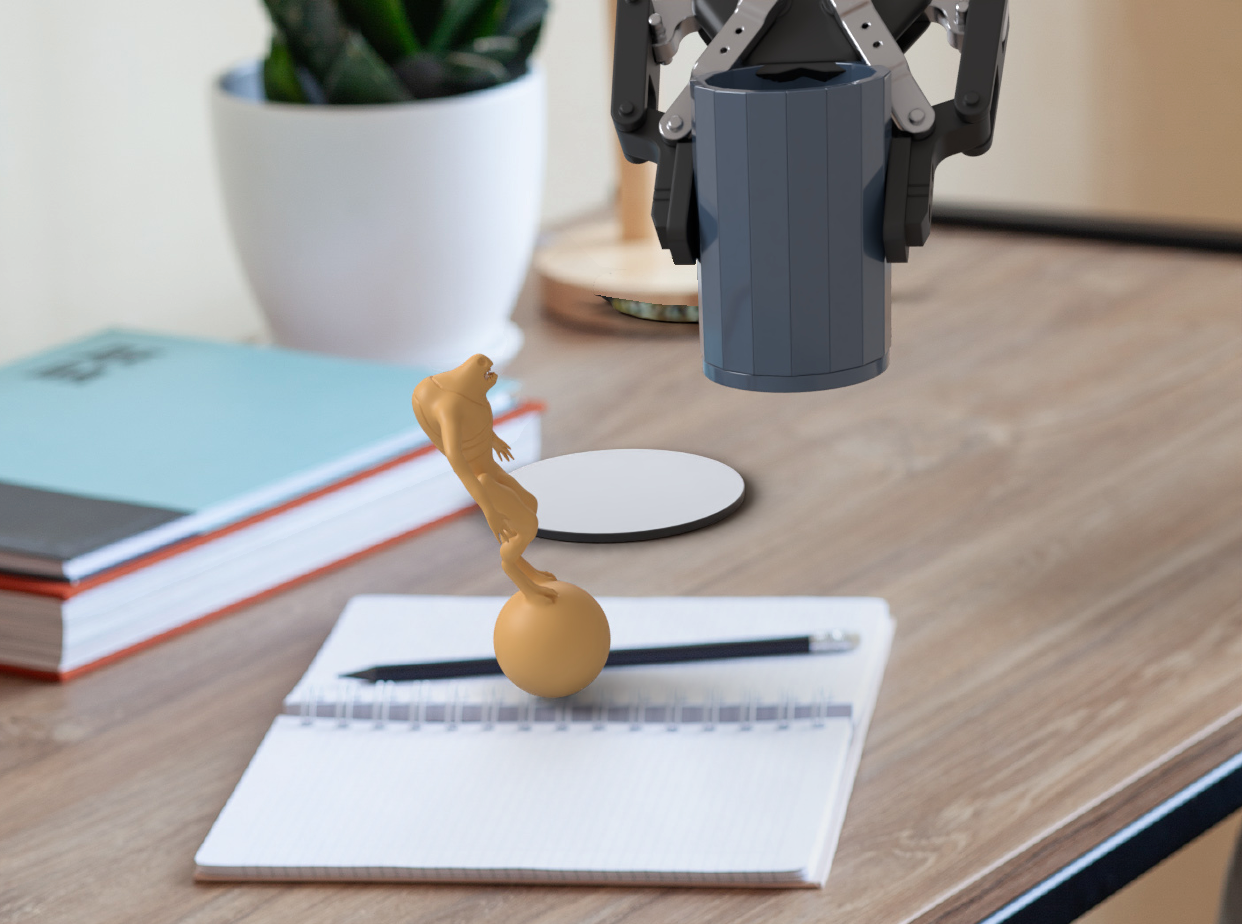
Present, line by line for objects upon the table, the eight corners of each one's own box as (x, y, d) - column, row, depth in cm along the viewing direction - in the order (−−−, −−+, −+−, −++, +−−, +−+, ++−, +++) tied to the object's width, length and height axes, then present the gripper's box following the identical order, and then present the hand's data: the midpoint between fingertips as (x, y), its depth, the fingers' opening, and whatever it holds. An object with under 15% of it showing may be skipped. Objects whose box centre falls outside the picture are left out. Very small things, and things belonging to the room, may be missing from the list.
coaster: (771, 463, 92) (771, 455, 92) (706, 550, 83) (706, 541, 83) (537, 451, 96) (537, 443, 96) (450, 533, 87) (449, 524, 87)
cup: (905, 342, 76) (906, 57, 72) (869, 396, 70) (867, 90, 66) (729, 338, 78) (719, 62, 74) (680, 390, 72) (667, 93, 68)
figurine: (618, 741, 68) (601, 383, 63) (433, 752, 68) (401, 395, 63) (608, 641, 75) (592, 314, 70) (441, 651, 75) (413, 325, 70)
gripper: (615, -207, 75) (557, 194, 69) (1028, -236, 71) (1000, 185, 66) (652, -64, 81) (603, 310, 76) (1030, -84, 78) (1006, 308, 72)
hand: (787, 251), depth 71 cm, fingers closed on cup, 6 cm apart
